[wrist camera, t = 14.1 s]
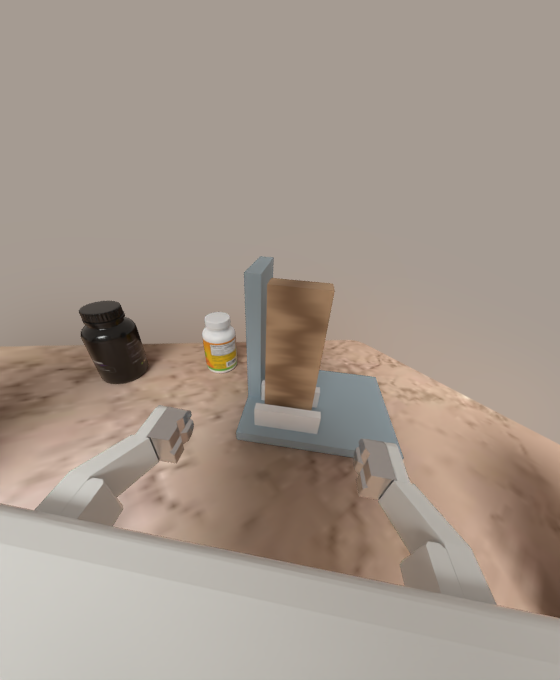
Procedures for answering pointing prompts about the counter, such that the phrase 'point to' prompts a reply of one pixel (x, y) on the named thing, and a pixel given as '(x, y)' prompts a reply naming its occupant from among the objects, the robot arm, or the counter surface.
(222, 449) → the counter surface
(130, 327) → the supplement bottle
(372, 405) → the blue-grey l-shaped stand
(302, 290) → the door panel
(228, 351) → the supplement bottle
